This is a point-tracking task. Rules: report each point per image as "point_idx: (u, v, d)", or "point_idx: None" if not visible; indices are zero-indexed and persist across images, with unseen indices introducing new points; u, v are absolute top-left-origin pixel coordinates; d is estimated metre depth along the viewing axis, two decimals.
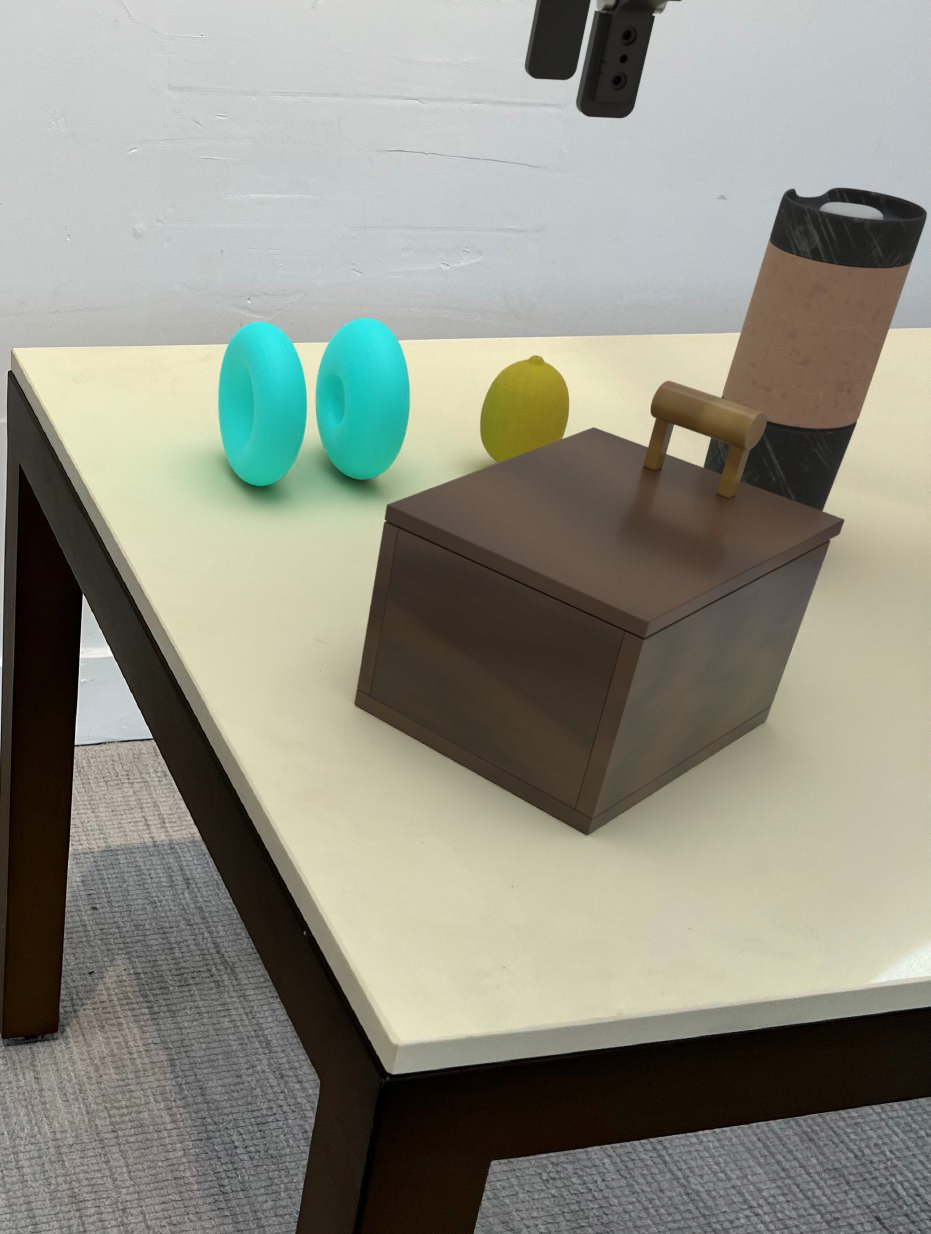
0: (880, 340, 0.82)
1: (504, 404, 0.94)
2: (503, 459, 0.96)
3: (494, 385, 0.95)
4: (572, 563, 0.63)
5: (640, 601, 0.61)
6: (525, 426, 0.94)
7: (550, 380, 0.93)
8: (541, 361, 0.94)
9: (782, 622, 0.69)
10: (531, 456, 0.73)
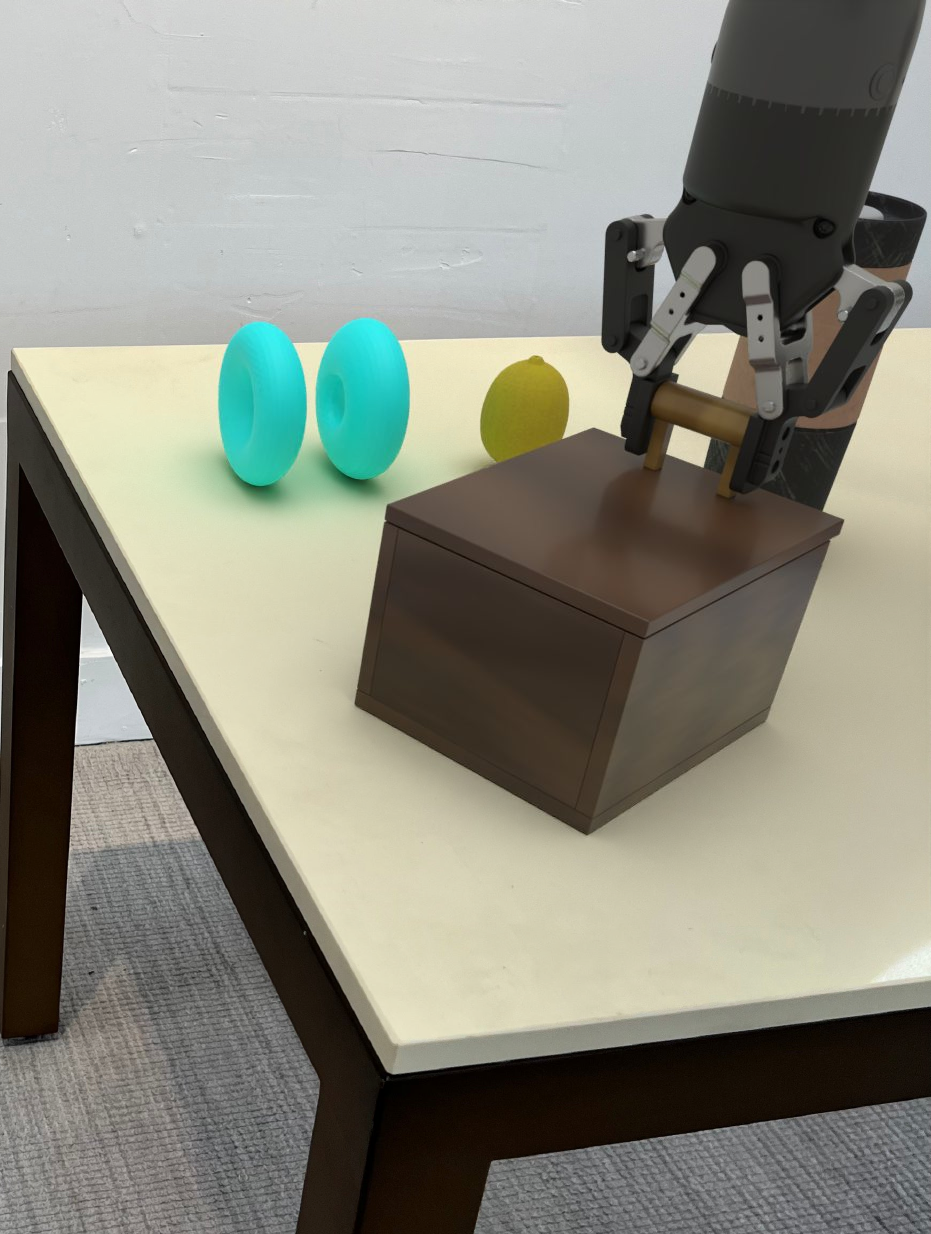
0: None
1: (504, 404, 0.94)
2: (503, 459, 0.96)
3: (494, 385, 0.95)
4: (572, 563, 0.63)
5: (640, 601, 0.61)
6: (525, 426, 0.94)
7: (550, 380, 0.93)
8: (541, 361, 0.94)
9: (782, 622, 0.69)
10: (531, 456, 0.73)
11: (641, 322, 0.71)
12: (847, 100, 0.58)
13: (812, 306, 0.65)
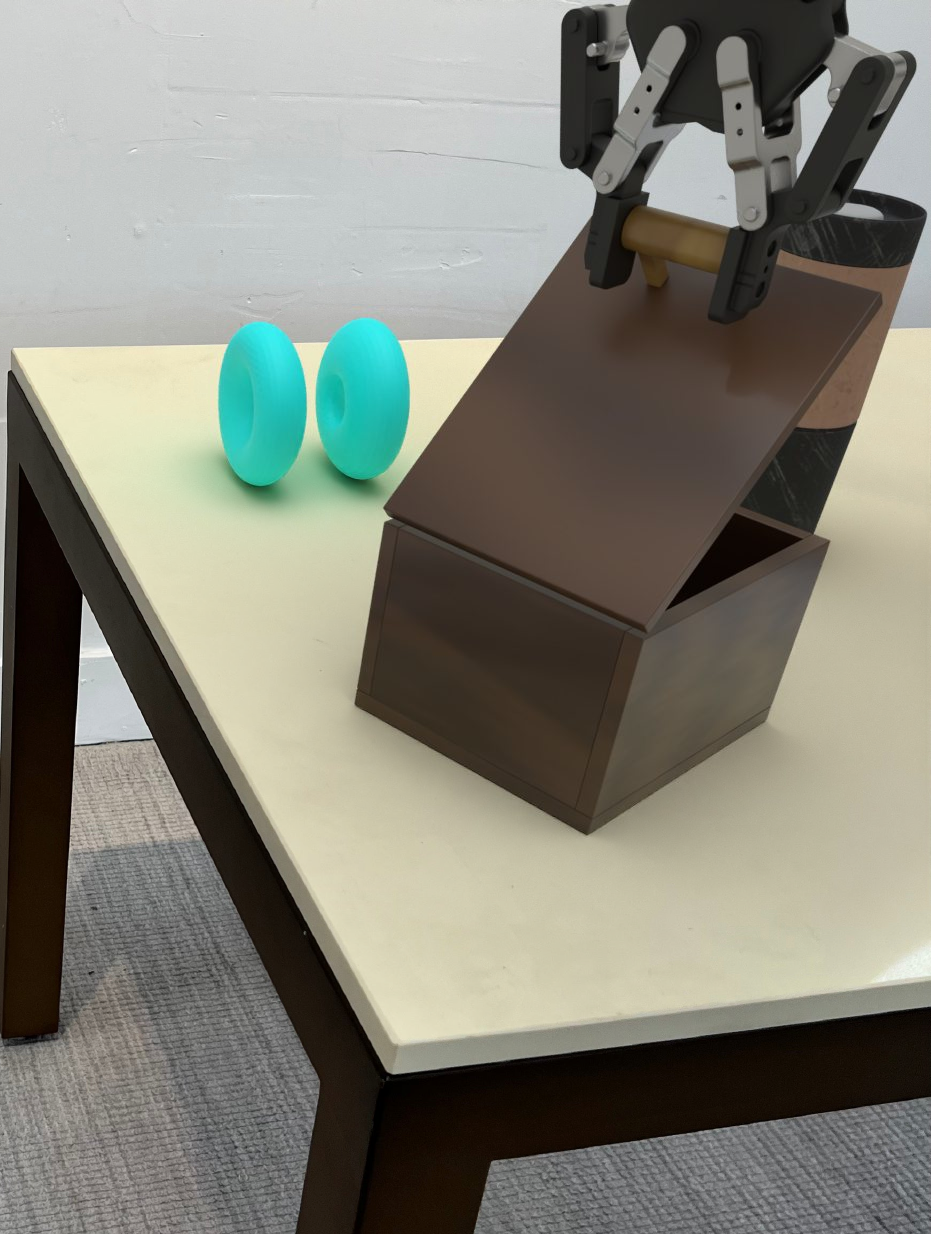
0: (880, 340, 0.82)
1: None
2: None
3: None
4: (568, 542, 0.62)
5: (637, 587, 0.60)
6: None
7: None
8: None
9: (782, 622, 0.69)
10: (524, 326, 0.67)
11: (606, 133, 0.62)
12: None
13: (799, 92, 0.55)
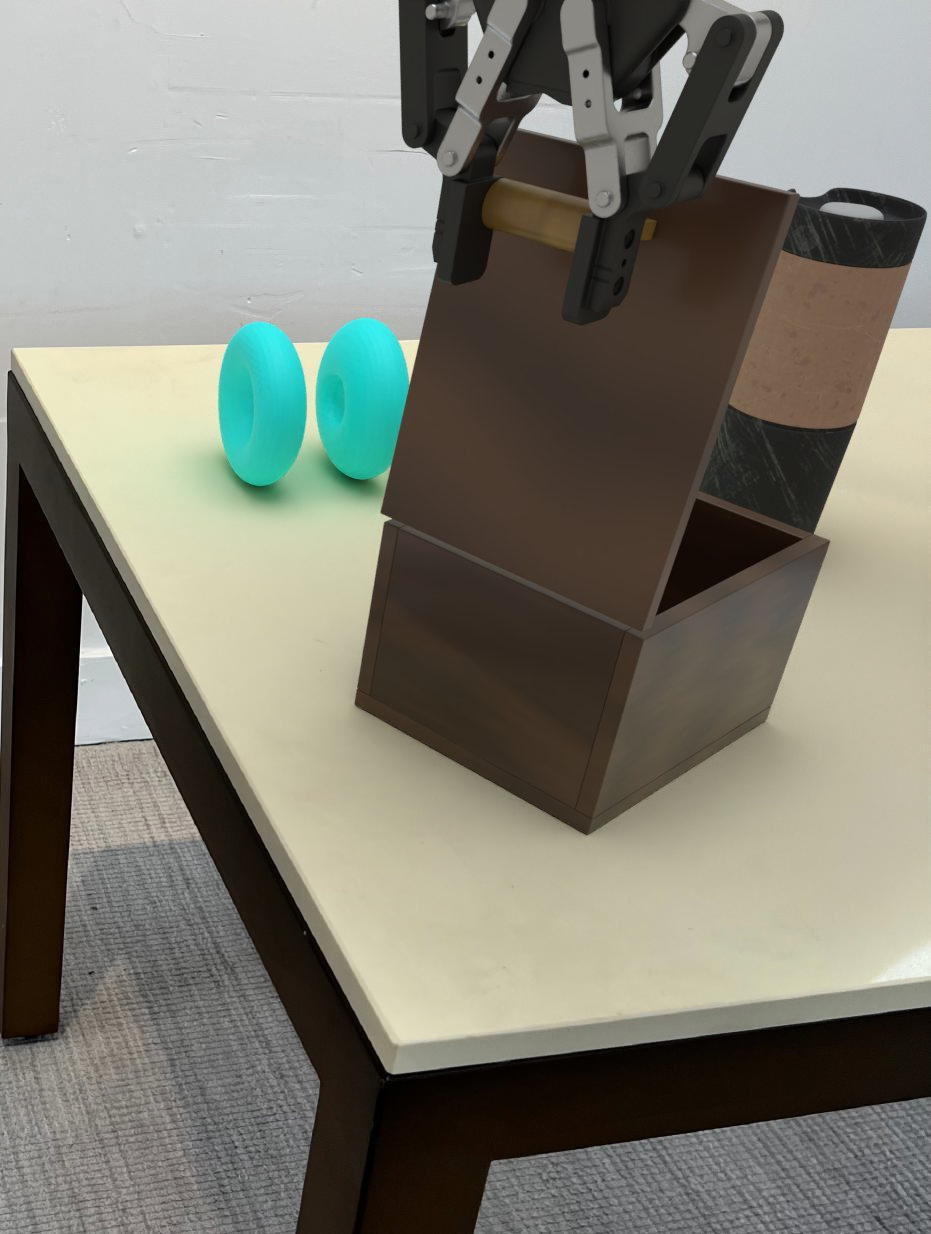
0: (880, 340, 0.82)
1: None
2: None
3: None
4: (551, 543, 0.61)
5: (625, 590, 0.59)
6: None
7: None
8: None
9: (782, 622, 0.69)
10: None
11: (454, 109, 0.55)
12: None
13: (657, 59, 0.48)
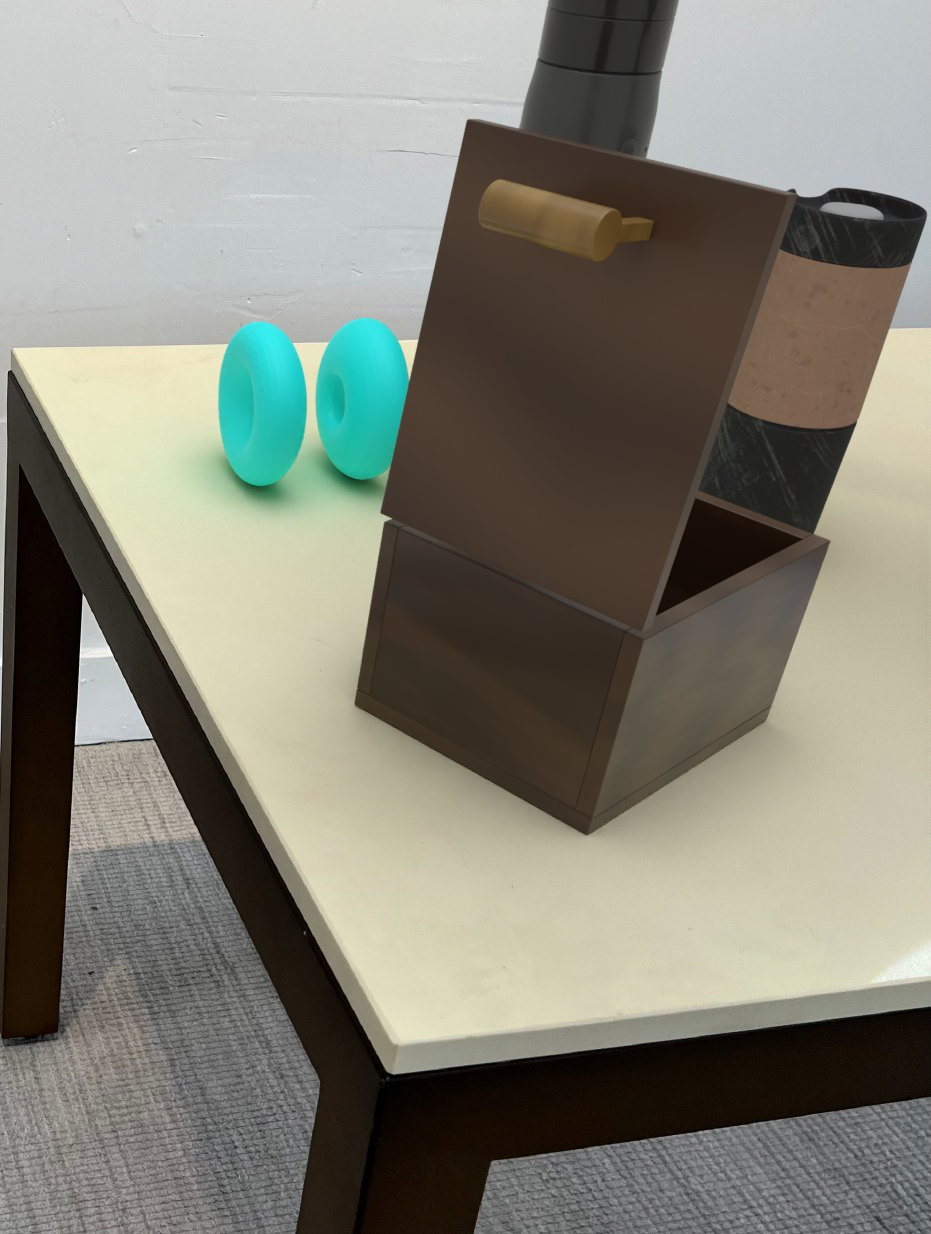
0: (880, 340, 0.82)
1: None
2: None
3: None
4: (550, 543, 0.61)
5: (624, 591, 0.59)
6: None
7: None
8: None
9: (782, 622, 0.69)
10: (441, 281, 0.62)
11: None
12: None
13: None
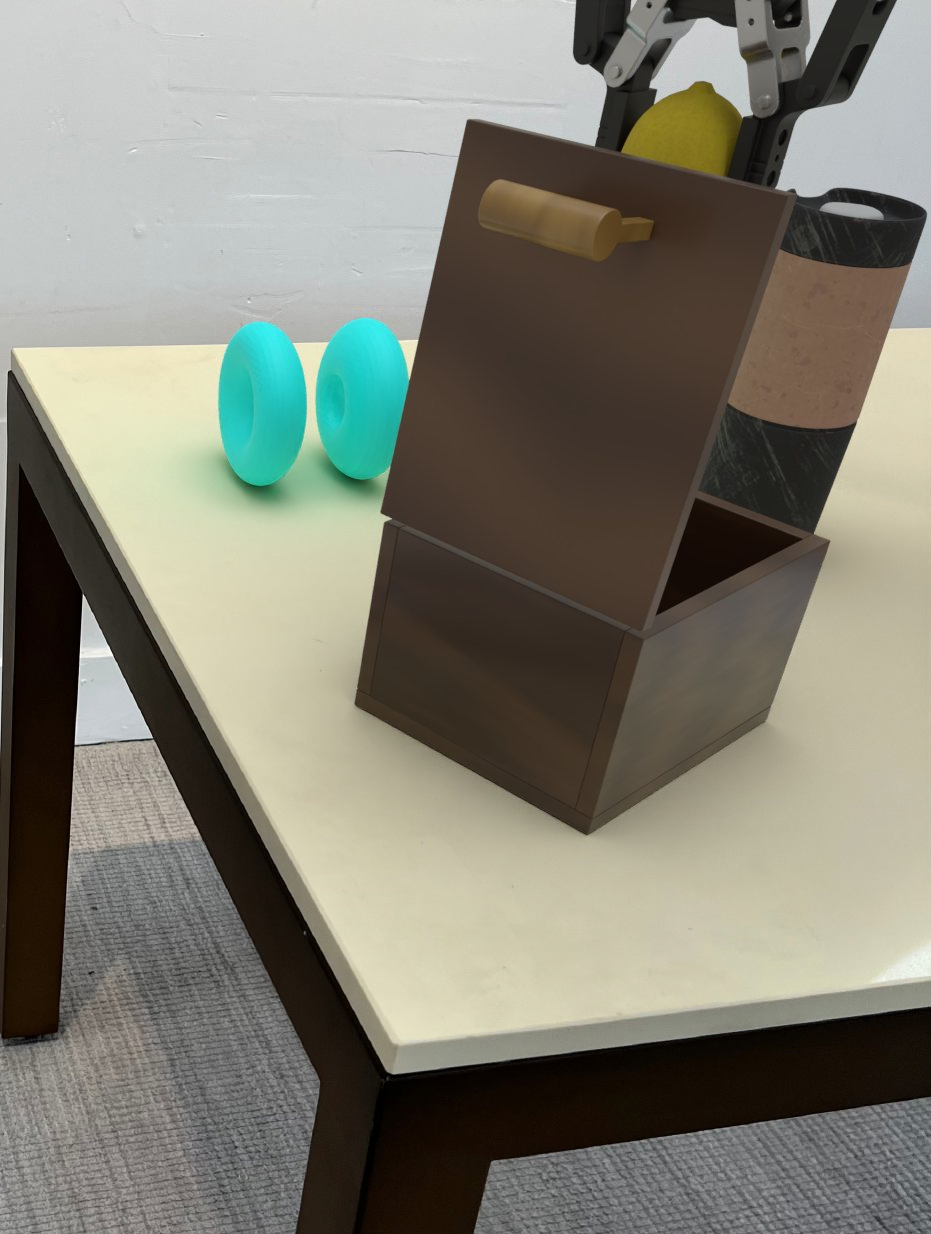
0: (880, 340, 0.82)
1: (653, 154, 0.63)
2: None
3: (637, 129, 0.64)
4: (550, 543, 0.61)
5: (624, 591, 0.59)
6: None
7: (725, 115, 0.62)
8: (710, 88, 0.62)
9: (782, 622, 0.69)
10: (441, 281, 0.62)
11: (617, 33, 0.65)
12: None
13: None
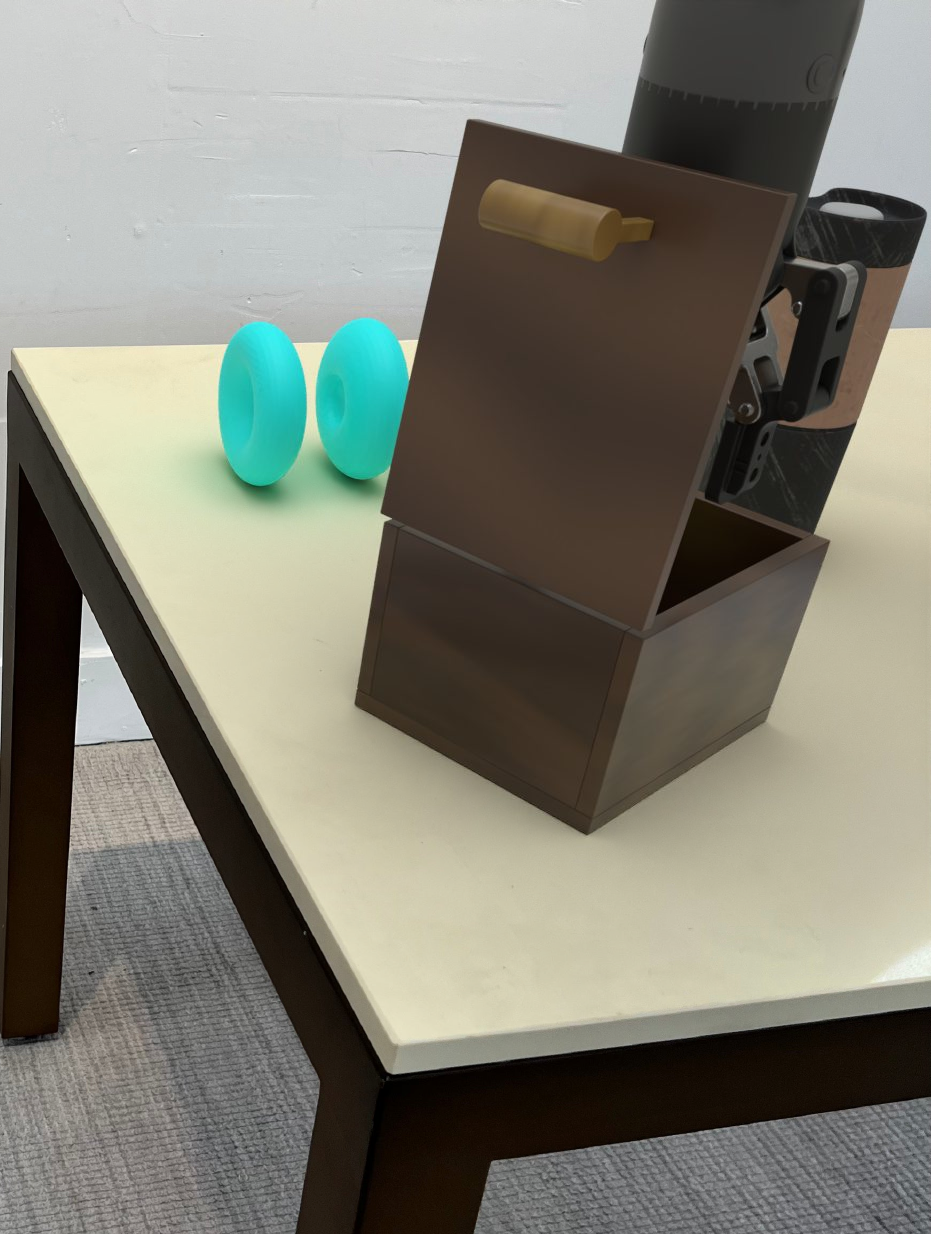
0: (880, 340, 0.82)
1: None
2: None
3: None
4: (550, 543, 0.61)
5: (624, 591, 0.59)
6: None
7: None
8: None
9: (782, 622, 0.69)
10: (441, 281, 0.62)
11: None
12: (783, 93, 0.55)
13: None
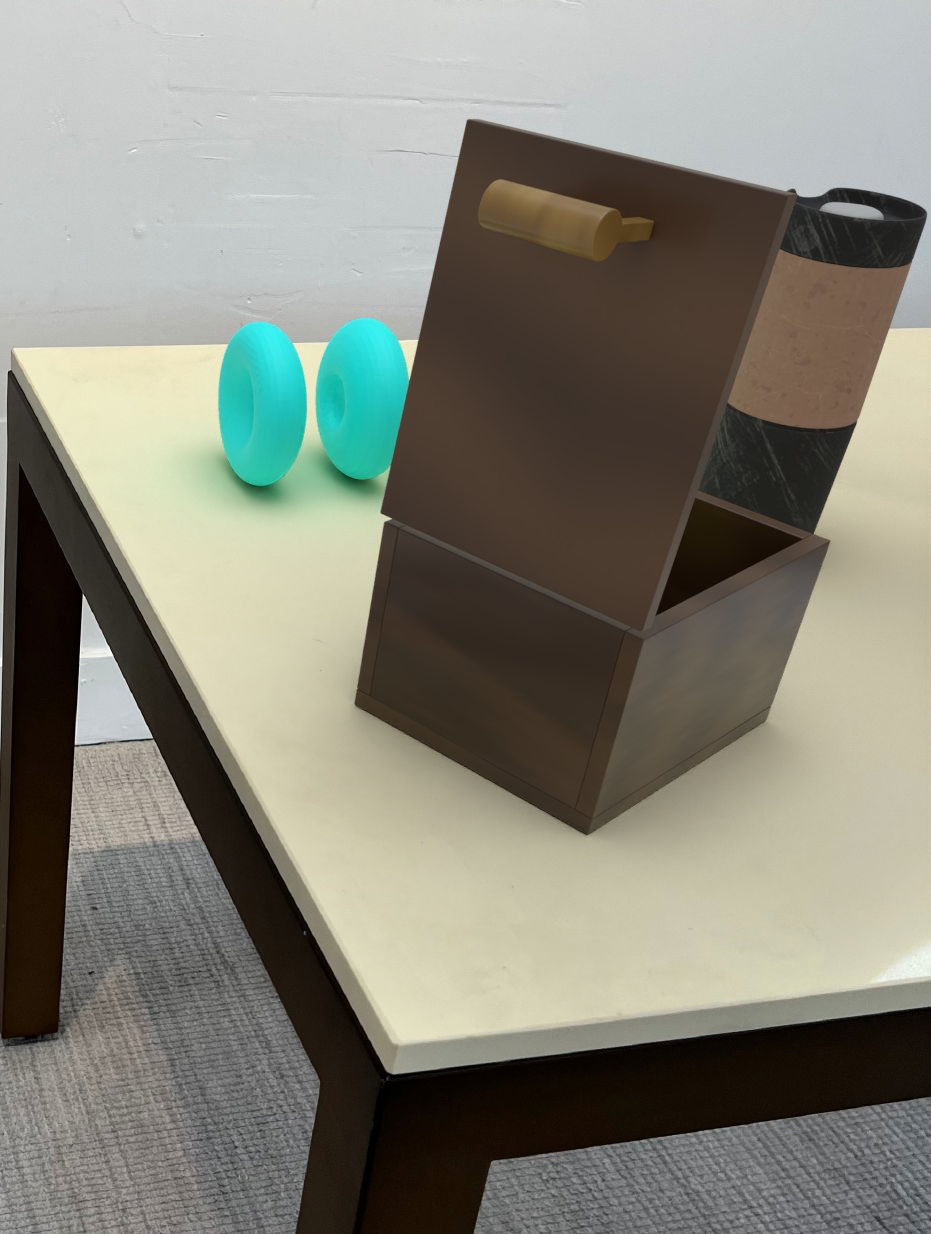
0: (880, 340, 0.82)
1: None
2: None
3: None
4: (550, 543, 0.61)
5: (624, 591, 0.59)
6: None
7: None
8: None
9: (782, 622, 0.69)
10: (441, 281, 0.62)
11: None
12: None
13: None
